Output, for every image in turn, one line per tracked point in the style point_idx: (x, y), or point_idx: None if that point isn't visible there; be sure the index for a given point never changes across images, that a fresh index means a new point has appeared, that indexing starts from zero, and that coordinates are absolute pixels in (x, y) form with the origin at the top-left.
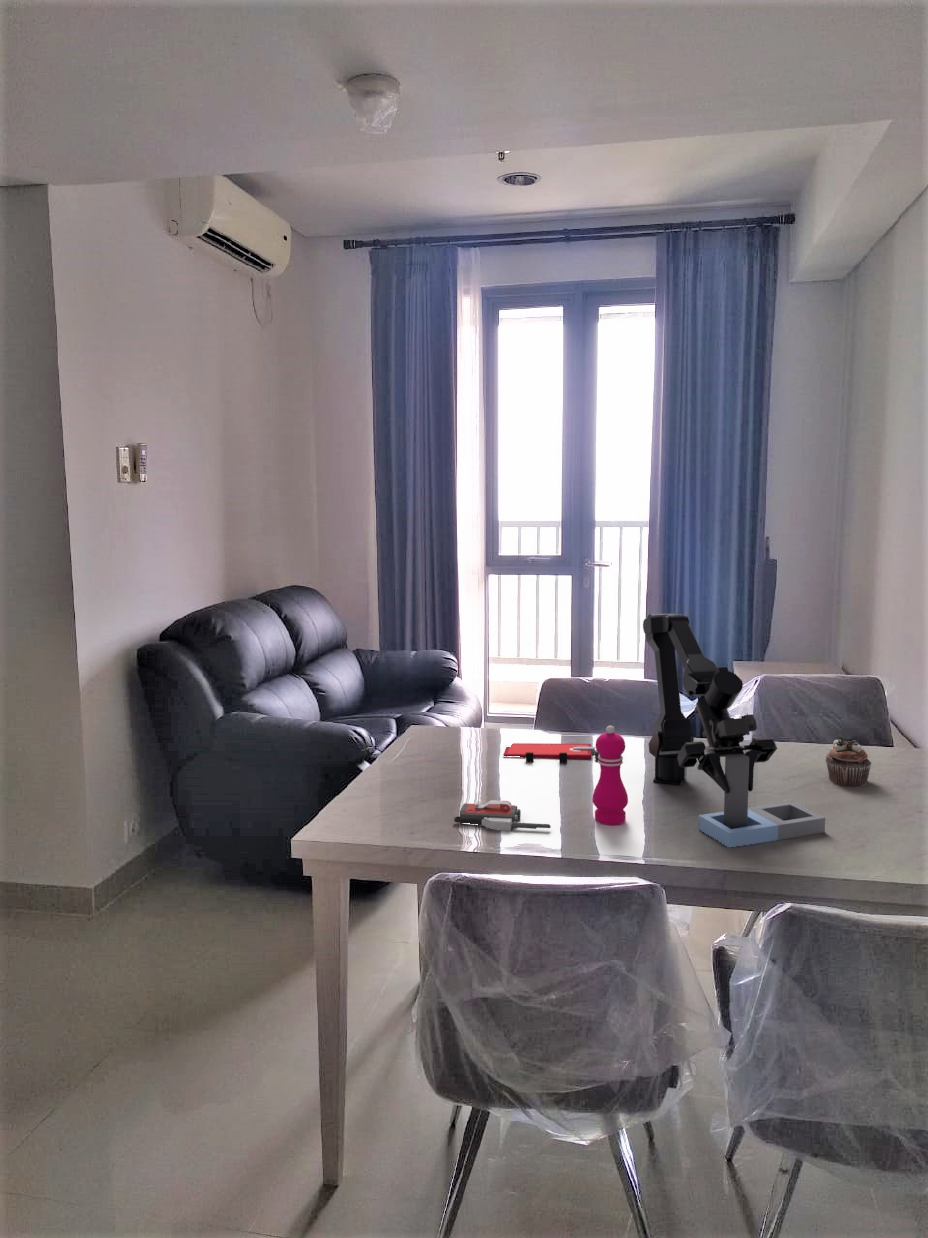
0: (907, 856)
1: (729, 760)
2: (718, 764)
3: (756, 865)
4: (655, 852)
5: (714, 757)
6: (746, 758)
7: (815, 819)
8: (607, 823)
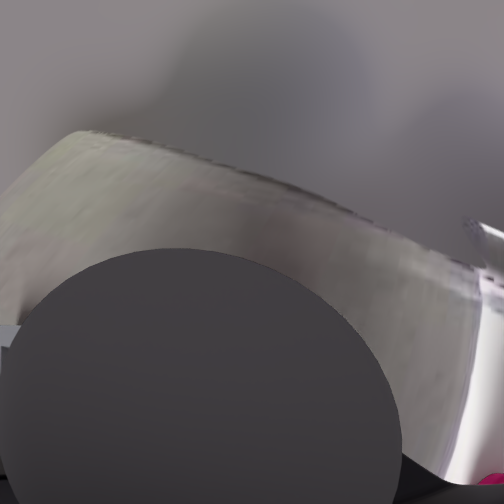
0: (5, 201)
1: (375, 378)
2: (398, 500)
3: (274, 214)
4: (462, 323)
5: (492, 500)
6: (55, 330)
7: (9, 325)
8: (499, 473)
